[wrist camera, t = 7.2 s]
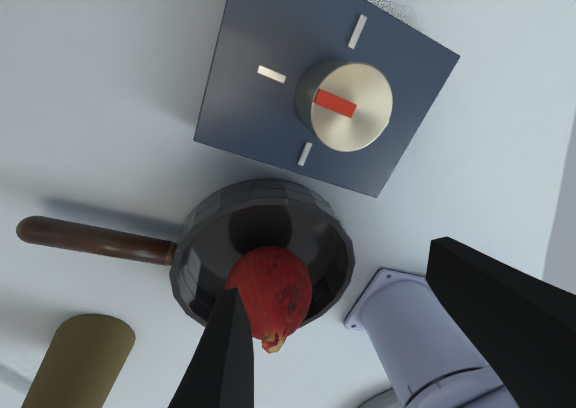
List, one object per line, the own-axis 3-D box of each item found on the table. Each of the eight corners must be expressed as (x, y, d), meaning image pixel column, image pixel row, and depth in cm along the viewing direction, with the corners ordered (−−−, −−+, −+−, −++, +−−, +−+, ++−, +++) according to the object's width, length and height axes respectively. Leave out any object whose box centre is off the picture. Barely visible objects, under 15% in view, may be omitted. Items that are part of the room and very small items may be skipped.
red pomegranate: (266, 210, 20) (282, 295, 13) (313, 251, 22) (347, 340, 15) (211, 256, 21) (198, 357, 14) (262, 291, 24) (272, 389, 17)
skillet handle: (185, 238, 18) (181, 254, 17) (180, 256, 19) (176, 272, 18) (27, 207, 16) (7, 222, 14) (28, 229, 16) (9, 246, 15)
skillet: (368, 204, 21) (386, 225, 19) (304, 314, 26) (311, 343, 24) (201, 154, 17) (195, 172, 15) (164, 296, 22) (155, 328, 20)
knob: (372, 77, 14) (413, 84, 11) (341, 141, 16) (369, 164, 12) (311, 47, 13) (337, 45, 10) (284, 119, 14) (298, 139, 11)
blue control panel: (432, 55, 16) (463, 56, 14) (362, 182, 20) (378, 199, 18) (242, -52, 13) (244, -75, 10) (198, 129, 16) (192, 141, 14)
